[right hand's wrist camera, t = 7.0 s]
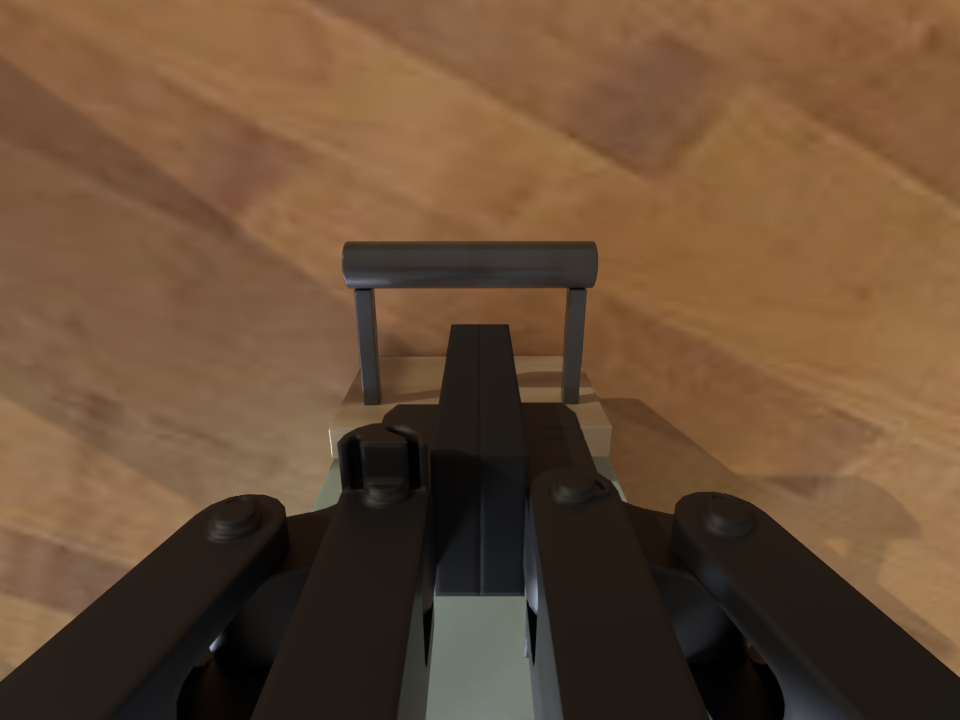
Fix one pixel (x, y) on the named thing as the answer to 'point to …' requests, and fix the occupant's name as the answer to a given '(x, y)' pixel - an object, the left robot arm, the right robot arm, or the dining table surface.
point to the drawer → (469, 268)
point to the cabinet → (475, 642)
